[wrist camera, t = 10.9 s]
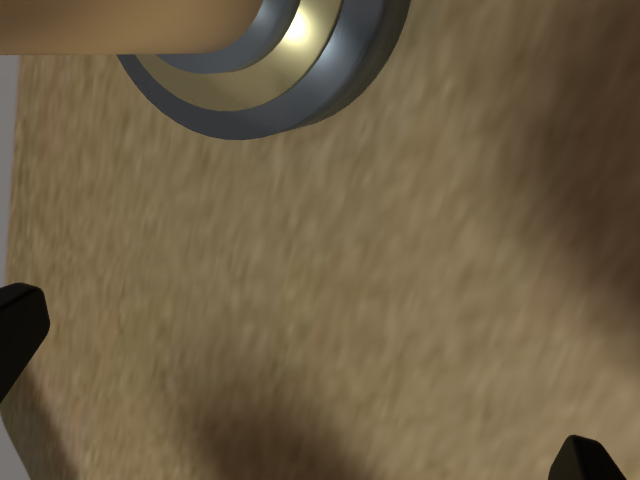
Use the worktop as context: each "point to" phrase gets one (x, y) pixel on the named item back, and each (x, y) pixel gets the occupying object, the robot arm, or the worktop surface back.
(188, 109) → the grey round disc
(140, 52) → the tan rounded stopper
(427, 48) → the worktop surface
